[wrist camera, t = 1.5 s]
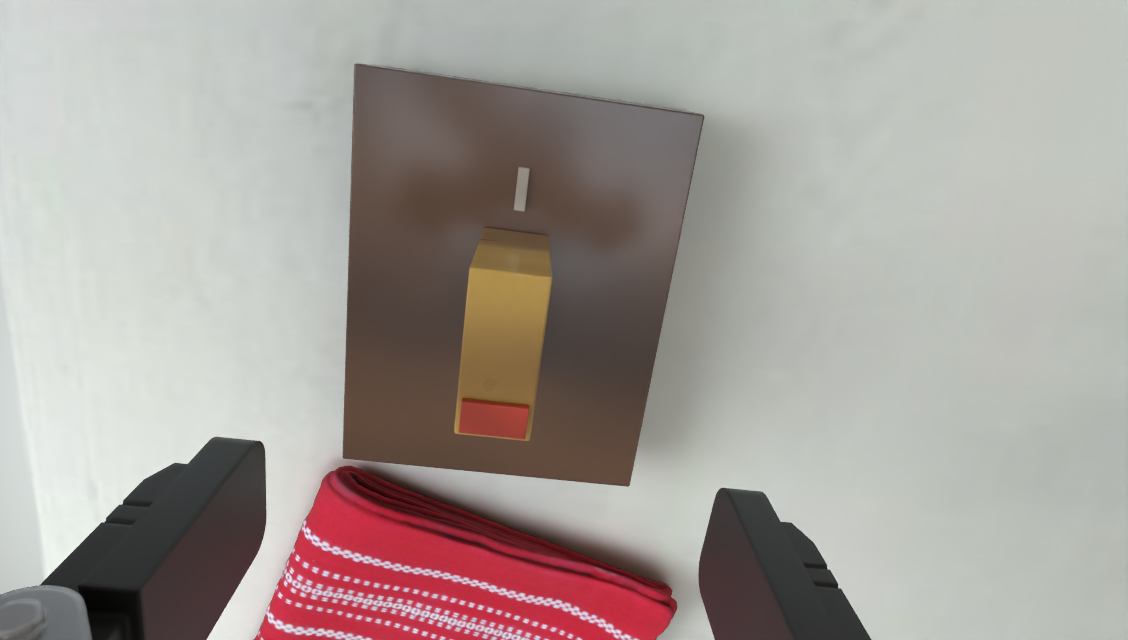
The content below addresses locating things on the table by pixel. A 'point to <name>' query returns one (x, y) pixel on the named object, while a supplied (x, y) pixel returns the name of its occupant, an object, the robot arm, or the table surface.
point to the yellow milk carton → (503, 334)
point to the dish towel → (445, 577)
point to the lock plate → (515, 203)
